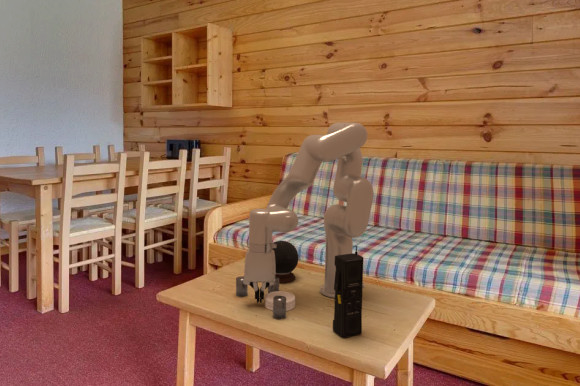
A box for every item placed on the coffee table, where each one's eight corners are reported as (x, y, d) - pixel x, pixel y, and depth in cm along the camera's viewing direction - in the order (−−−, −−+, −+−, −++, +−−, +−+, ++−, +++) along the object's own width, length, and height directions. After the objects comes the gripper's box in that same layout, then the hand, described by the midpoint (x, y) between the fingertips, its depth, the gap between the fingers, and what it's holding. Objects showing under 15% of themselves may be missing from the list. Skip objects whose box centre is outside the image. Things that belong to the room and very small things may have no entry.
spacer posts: (284, 292, 159) (284, 276, 158) (286, 319, 137) (286, 300, 136) (236, 292, 158) (236, 276, 158) (230, 319, 137) (230, 300, 136)
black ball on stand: (284, 287, 165) (284, 247, 162) (257, 279, 173) (257, 241, 170) (304, 278, 175) (305, 240, 173) (278, 271, 183) (279, 235, 181)
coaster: (270, 314, 141) (271, 303, 141) (260, 302, 150) (260, 292, 150) (299, 309, 145) (300, 299, 144) (288, 298, 154) (288, 289, 154)
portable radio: (340, 340, 125) (343, 252, 121) (328, 331, 130) (331, 247, 126) (363, 334, 128) (367, 249, 124) (351, 326, 133) (354, 244, 130)
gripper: (283, 244, 149) (281, 297, 151) (238, 243, 148) (237, 296, 151) (283, 250, 141) (282, 306, 144) (236, 249, 141) (235, 305, 143)
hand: (259, 301), depth 147 cm, fingers closed
